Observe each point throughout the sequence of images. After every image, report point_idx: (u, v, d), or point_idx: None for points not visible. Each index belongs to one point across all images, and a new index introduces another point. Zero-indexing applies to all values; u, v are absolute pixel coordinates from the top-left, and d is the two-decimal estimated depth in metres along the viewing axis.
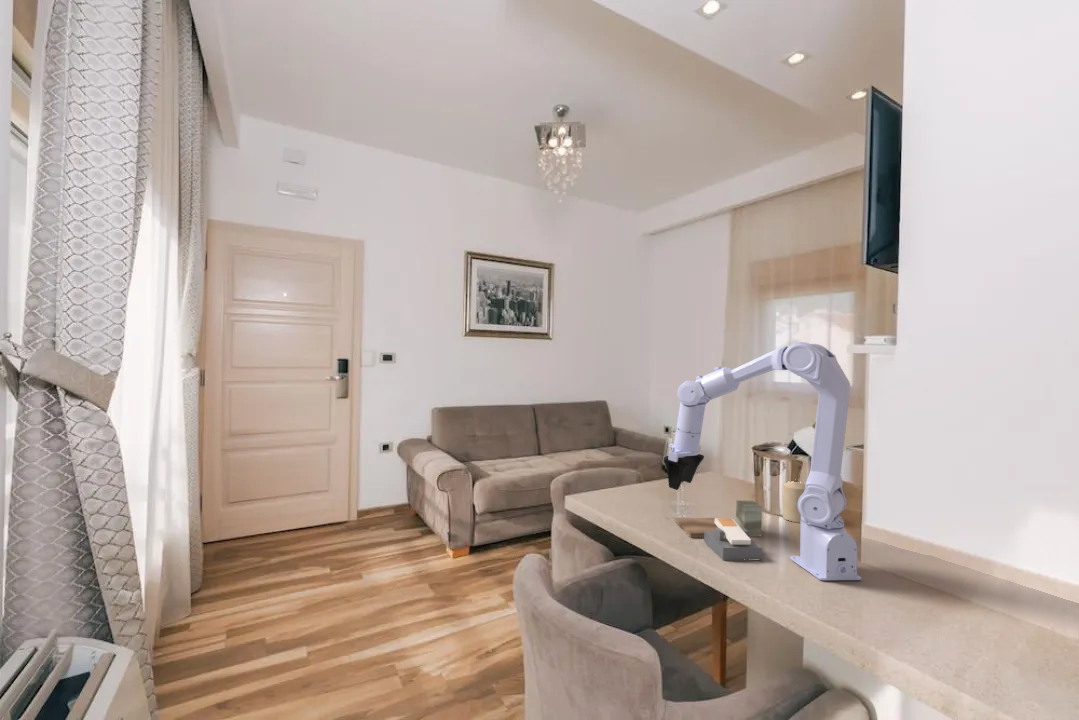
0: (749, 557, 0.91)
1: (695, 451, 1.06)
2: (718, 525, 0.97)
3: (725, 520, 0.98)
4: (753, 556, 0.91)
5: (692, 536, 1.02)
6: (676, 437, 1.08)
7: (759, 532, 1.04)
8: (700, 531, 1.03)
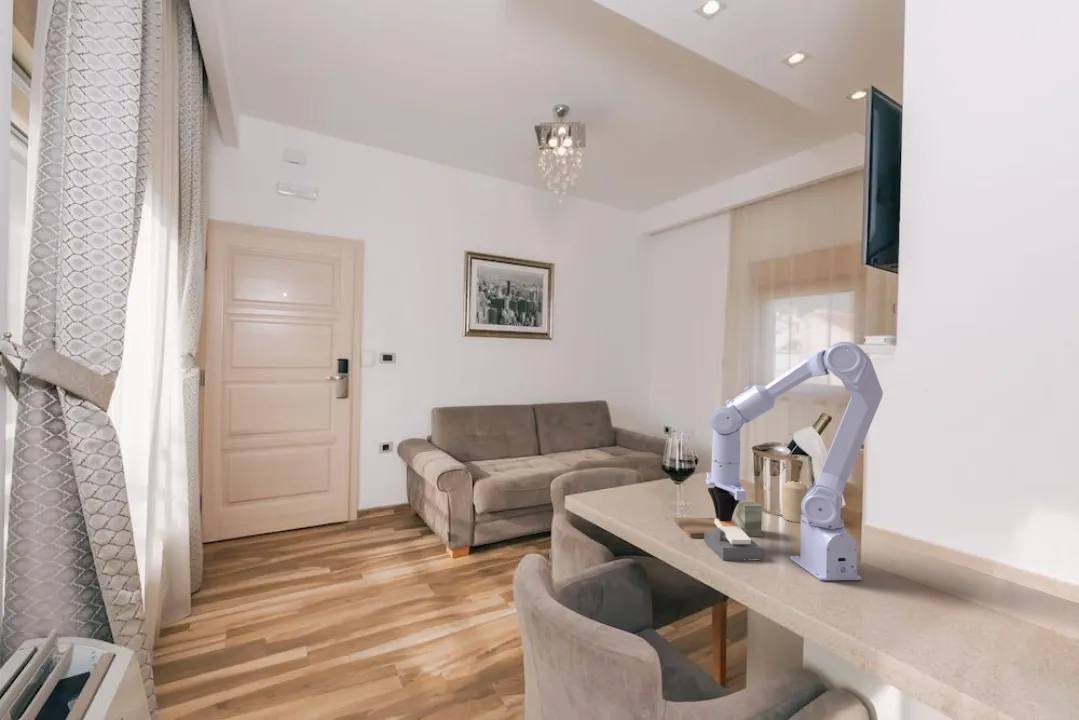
0: (749, 557, 0.91)
1: None
2: (718, 525, 0.97)
3: None
4: (753, 556, 0.91)
5: (692, 536, 1.02)
6: (721, 472, 0.96)
7: (759, 532, 1.04)
8: (700, 531, 1.03)
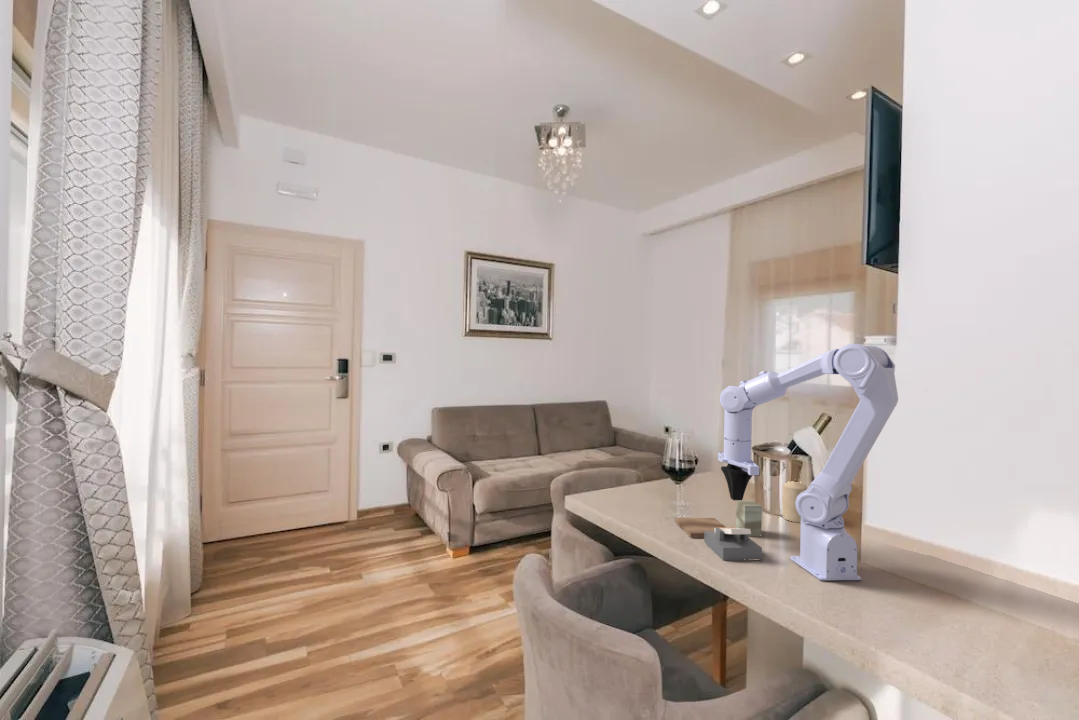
0: (749, 557, 0.91)
1: None
2: None
3: None
4: (753, 556, 0.91)
5: (692, 536, 1.02)
6: (734, 449, 0.99)
7: (759, 532, 1.04)
8: (700, 531, 1.03)
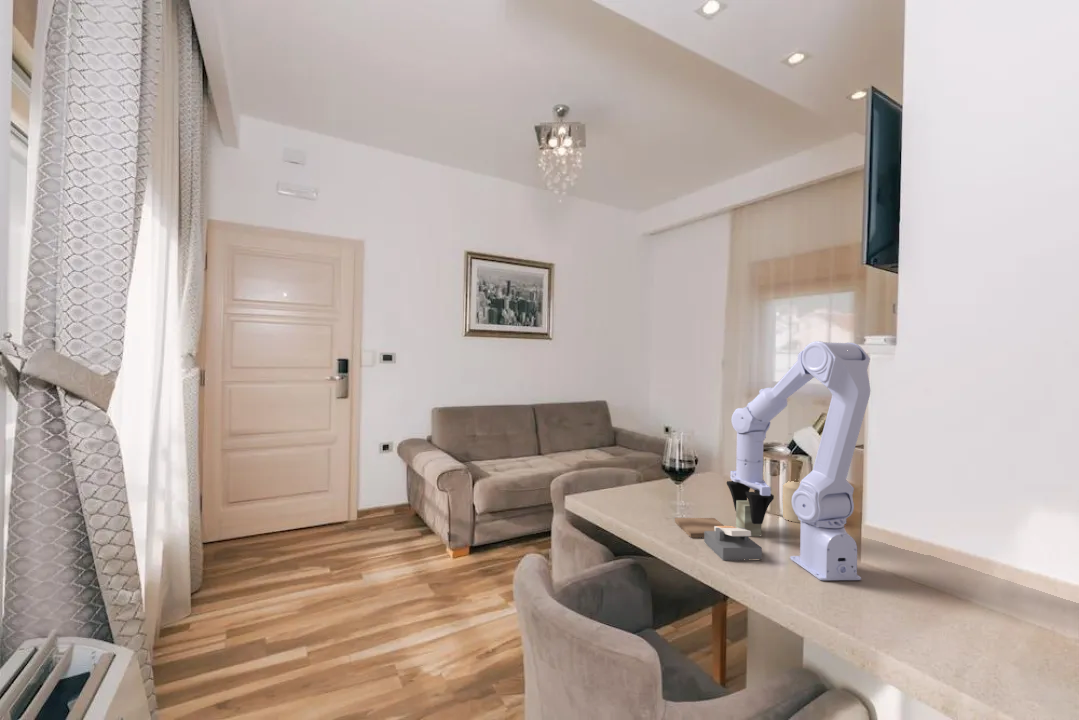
0: (749, 557, 0.91)
1: None
2: None
3: (724, 526, 0.98)
4: (753, 556, 0.91)
5: (692, 536, 1.02)
6: (746, 470, 1.03)
7: (759, 532, 1.04)
8: (700, 531, 1.03)
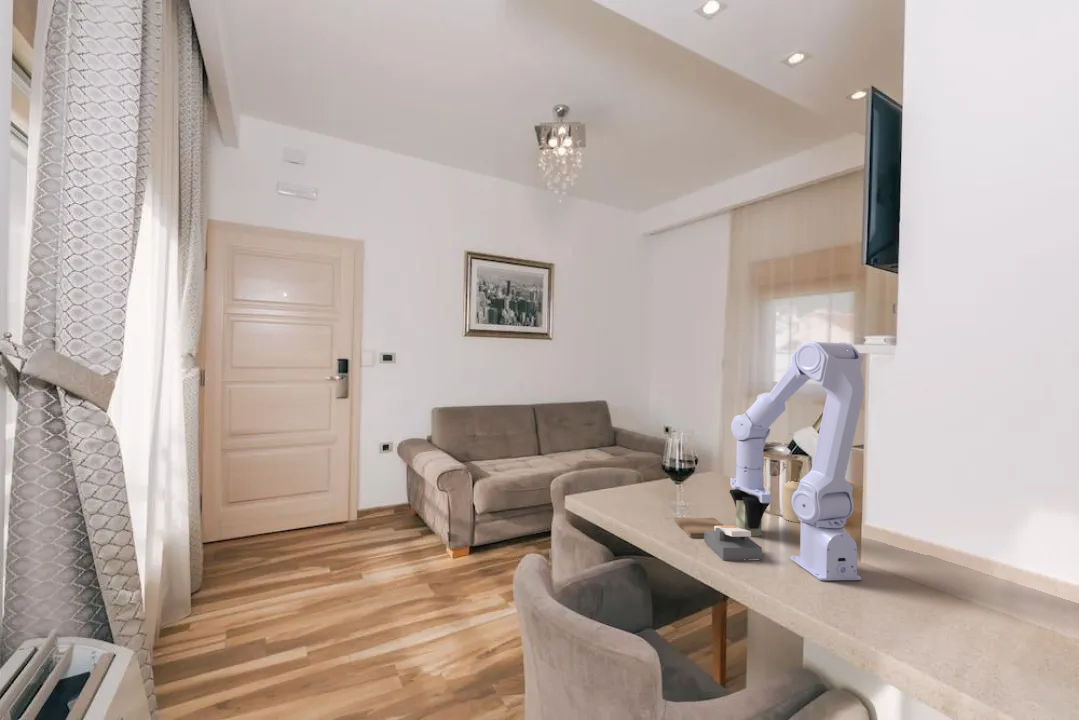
0: (749, 557, 0.91)
1: None
2: None
3: (724, 526, 0.98)
4: (753, 556, 0.91)
5: (692, 536, 1.02)
6: (746, 477, 1.03)
7: (759, 532, 1.04)
8: (700, 531, 1.03)
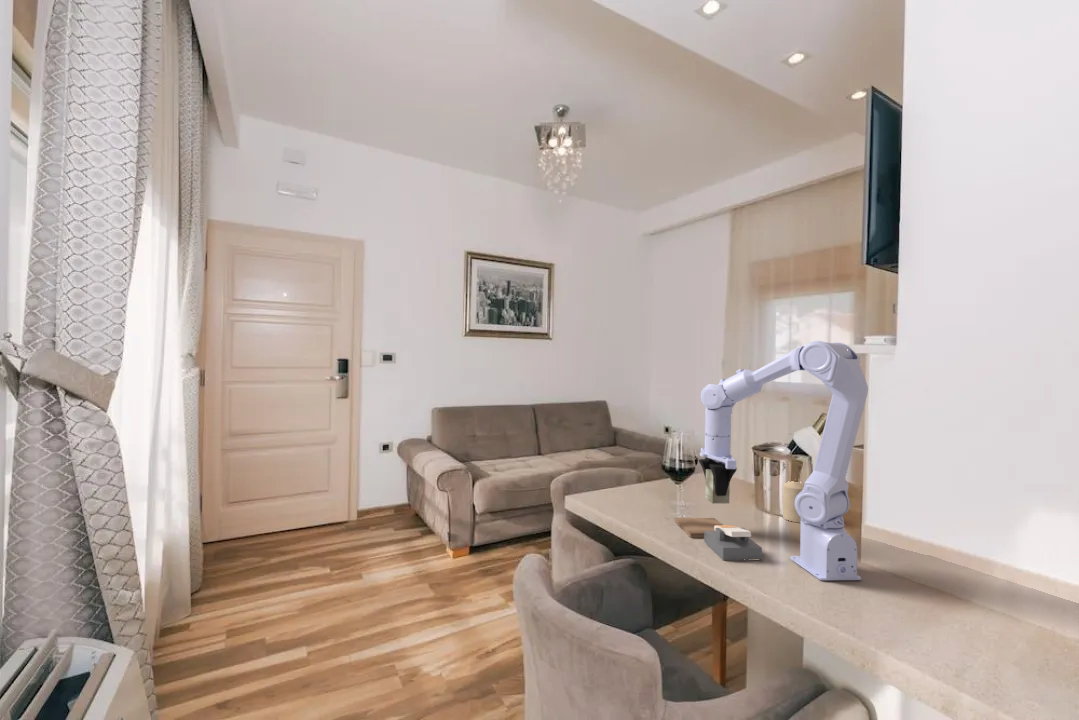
0: (749, 557, 0.91)
1: (730, 454, 1.06)
2: None
3: (724, 525, 0.98)
4: (753, 556, 0.91)
5: (692, 536, 1.02)
6: (713, 444, 1.05)
7: (727, 499, 1.05)
8: (700, 531, 1.03)
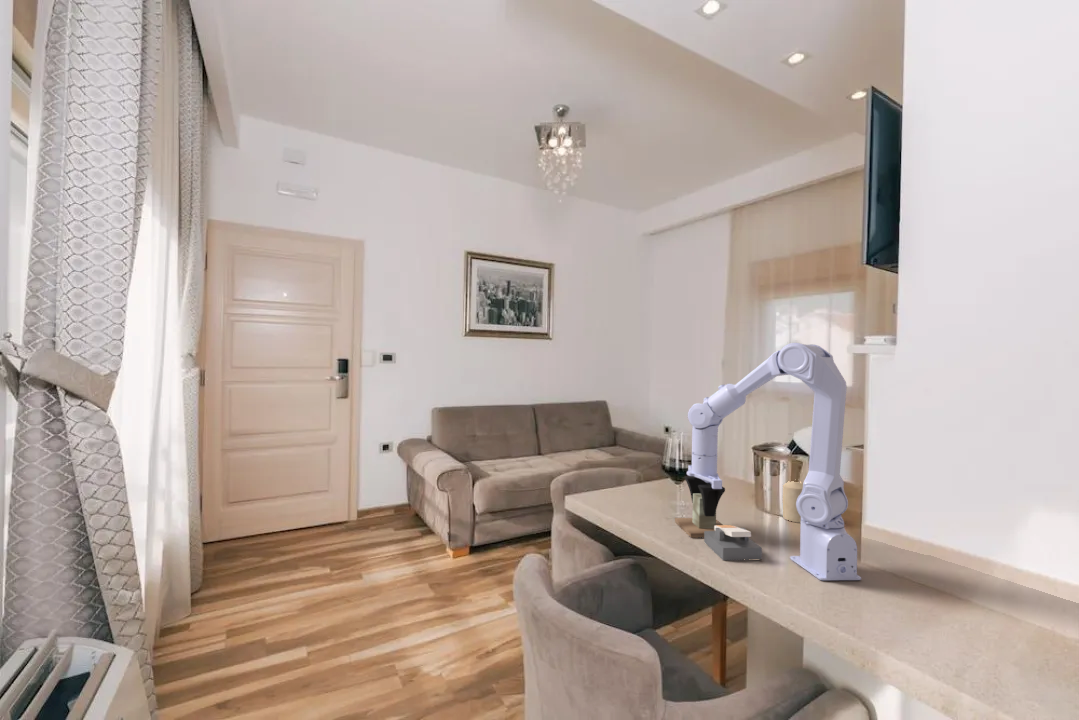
0: (749, 557, 0.91)
1: None
2: None
3: (724, 525, 0.98)
4: (753, 556, 0.91)
5: (692, 536, 1.02)
6: (700, 464, 1.05)
7: (714, 524, 1.05)
8: (700, 531, 1.03)
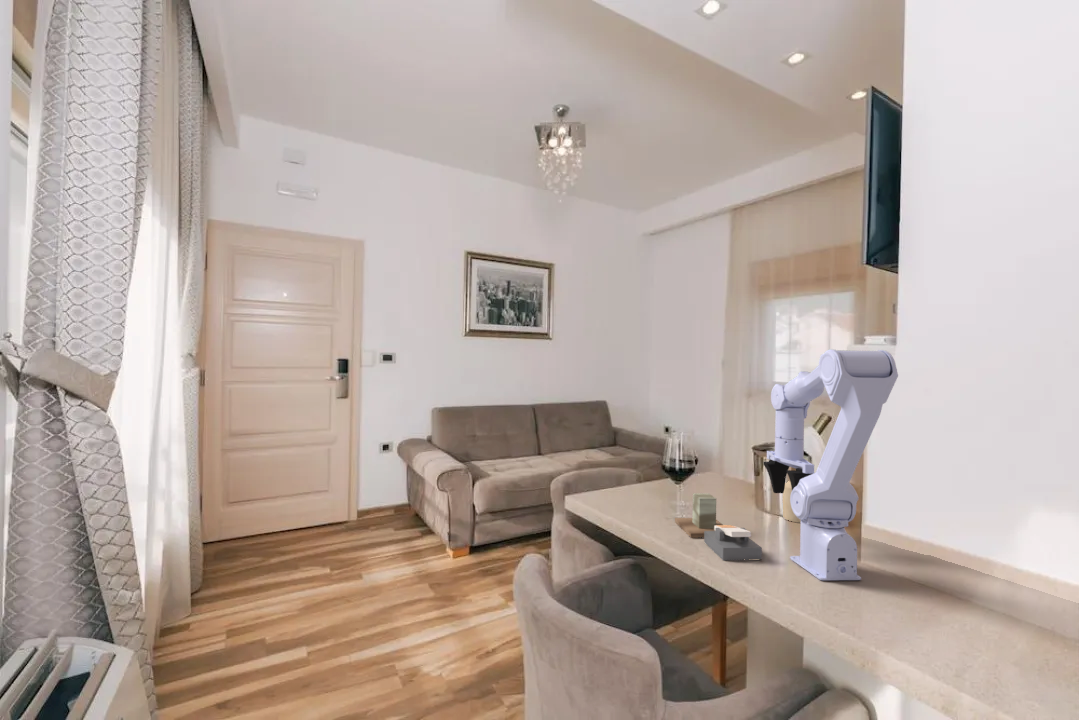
0: (749, 557, 0.91)
1: None
2: None
3: (724, 525, 0.98)
4: (753, 556, 0.91)
5: (692, 536, 1.02)
6: (786, 448, 1.00)
7: (714, 524, 1.05)
8: (700, 531, 1.03)
